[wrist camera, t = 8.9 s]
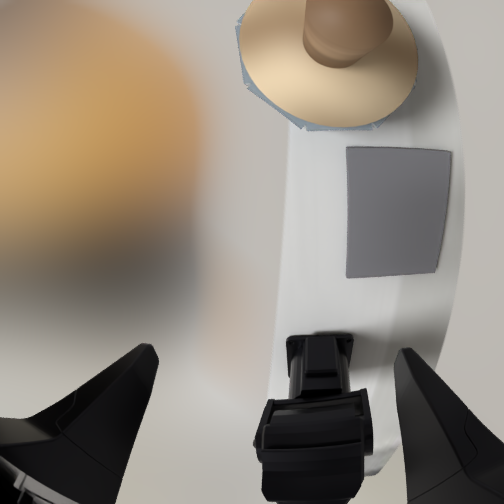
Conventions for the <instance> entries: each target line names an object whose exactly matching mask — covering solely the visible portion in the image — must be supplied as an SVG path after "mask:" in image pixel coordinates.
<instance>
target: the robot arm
mask: <svg viewBox="0 0 504 504" xmlns="http://www.w3.org/2000/svg"><path fill="white" fill-rule="evenodd" d="M347 339H349V340H347ZM291 341H292V342H291ZM353 342H354V339H353V336H352V335H351V334H346V335H327V336H299V337H288V338H287V339H286V350H287V364H288V376H289V378H290V385H289V398H288V399H282V400H275V399H268V401H267V404H266V406H265V408H264V411H263V414H262V417H261V420H260V423H259V426H258V429H257V432H256V435H255V440H254V441H253V446H254V447H255V448H256V453H257V458H258V460H259V462H260V463H262V469H263V472H262V489H261V490H262V493H263V495H264V497H265V498H266V500H267V501H269V502H276V503H277V504H347V503H348V502H349V501H350V499H351V498H354V497H355V495H356V494H357V492H358V491H359V489H360V487H361V484H362V482H363V480H364V456H370V455H372V454H373V426H372V418H371V412H370V406H369V400H368V394H367V389H366V388H364V389H360V390H358V391H352V392H351V390H350V380H349V370H348V369H349V364H350V359H351V353H352V348H353ZM158 365H159V358H158V356H157V354H156V352H155V350H154V347H153V346H152V345H151V344H147V343H141V344H140V345H138V346H137V347H135V348H134V349H132V350H131V351H130V352H129V353H127V354H126V355H124V356H123V357H121V358H120V359H119V360H117V361H116V362H114V363H113V364H112V365H110V366H109V367H107V368H106V369H105V370H103V371H102V372H100V373H99V374H97V375H96V376H95V377H93V378H92V379H90V380H89V381H87V382H86V383H85V384H83V385H82V386H80V387H79V388H78V389H77V390H75V391H73V392H72V393H70V394H69V395H67V396H66V397H64V398H63V399H61V400H60V401H58V402H56V403H55V404H53V405H52V406H50V407H48V408H46V409H45V410H42V411H41V412H39V413H37V414H35V415H34V416H31V417H29V418H24V419H15V418H2V417H0V504H115V503H116V499H117V496H118V492H119V489H120V486H121V483H122V478H123V476H124V473H125V469H126V466H127V463H128V460H129V457H130V454H131V451H132V448H133V445H134V442H135V439H136V436H137V433H138V430H139V427H140V425H141V422H142V419H143V416H144V413H145V410H146V407H147V405H148V402H149V399H150V396H151V393H152V388H153V384H154V380H155V376H156V373H157V369H158ZM394 377H395V389H396V404H397V412H398V418H399V424H400V430H401V437H402V445H403V453H404V462H405V472H406V484H407V501H408V502H407V504H504V443H503V442H502V441H501V440H500V439H499V438H497V437H496V436H495V435H494V434H493V433H492V432H491V431H490V430H489V429H488V428H487V427H486V426H485V425H483V424H482V422H481V421H480V420H479V419H478V418H477V417H476V416H475V415H474V414H473V413H472V412H471V411H470V409H468V407H467V406H466V405H465V404H464V403H463V402H462V401H461V400H460V398H459V397H458V396H457V395H456V394H455V393H454V392H453V391H452V390H451V389H450V387H449V386H448V385H447V384H446V383H445V382H444V381H443V380H442V379H441V378H440V377H439V376H438V375H437V374H436V373H435V372H434V371H433V369H432V368H431V367H430V366H429V365H428V364H427V363H426V362H425V361H424V360H423V359H422V358H421V357H420V356H419V355H418V354H417V353H416V352H415V351H414V350H413V349H412V348H401V349H400V350H399V352H398V355H397V358H396V360H395V363H394Z"/></svg>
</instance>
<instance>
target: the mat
mask: <svg viewBox="0 0 504 504" xmlns="http://www.w3.org/2000/svg"><path fill="white" fill-rule="evenodd" d="M450 156H451V152H449V151H445V150H433V149H419V148H399V147H346V160H347V191H348V229H347V261H346V277H347V278H365V277H381V276H396V275H410V274H424V273H435V271H436V266H437V262H438V257H439V252H440V247H441V241H442V236H443V230H444V223H445V216H446V208H447V200H448V189H449V177H450Z"/></svg>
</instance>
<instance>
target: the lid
mask: <svg viewBox="0 0 504 504" xmlns="http://www.w3.org/2000/svg"><path fill="white" fill-rule="evenodd" d="M239 43H240V52H241V56H242V60H243V63H244V65H245V68H246V70H247V72H248V74H249V75H250V77H251V79H252V80H253V82H254V83H255V85H256V86H257V87H258V89H259V90H260V91H261V92H262V93H263V94H264V95H265V96H266V97H267V98H268V99H269V100H271V101H272V102H273V103H274V104H275V105H277V106H278V107H280V108H281V109H283V110H284V111H286V112H288V113H290V114H292V115H293V116H295V117H297V118H300V119H303V120H305V121H308V122H311V123H315V124H318V125H324V126H330V127H356V126H361V125H366V124H369V123H372V122H375V121H378V120H380V119H382V118H384V117H386V116H387V115H389V114H390V113H392V112H393V111H395V110H396V109H397V108H398V107H399V106H400V105H401V104H402V103H403V102H404V100H405V99H406V98H407V96H408V95H409V93H410V91H411V89H412V88H413V85H414V82H415V79H416V75H417V70H418V54H417V47H416V43H415V39H414V37H413V34H412V32H411V29H410V27H409V26H408V24H407V22H406V20H405V19H404V17H403V16H402V15H401V13H400V12H399V11H398V9H397V8H396V7H395V6H394V5H393V4H392V3H391V2H390V1H389V0H253V1H252V2H251V4H250V6H249V7H248V9H247V10H246V12H245V15H244V17H243V19H242V23H241V27H240V35H239Z"/></svg>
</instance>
